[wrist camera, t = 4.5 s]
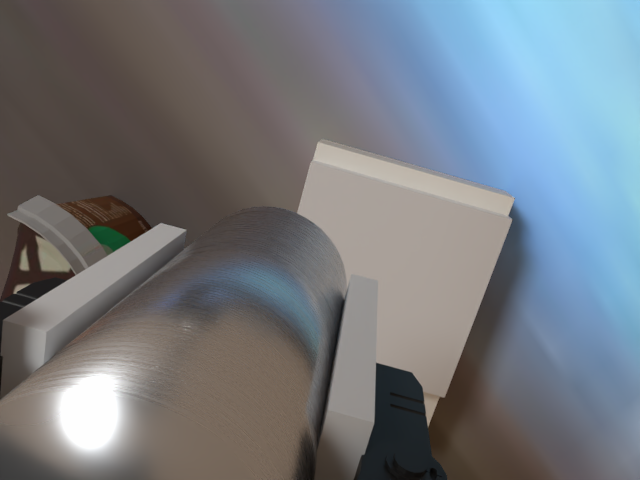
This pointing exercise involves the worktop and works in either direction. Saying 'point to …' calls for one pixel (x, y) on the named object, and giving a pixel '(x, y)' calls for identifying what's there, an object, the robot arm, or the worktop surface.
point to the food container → (68, 237)
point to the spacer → (194, 367)
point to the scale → (410, 251)
